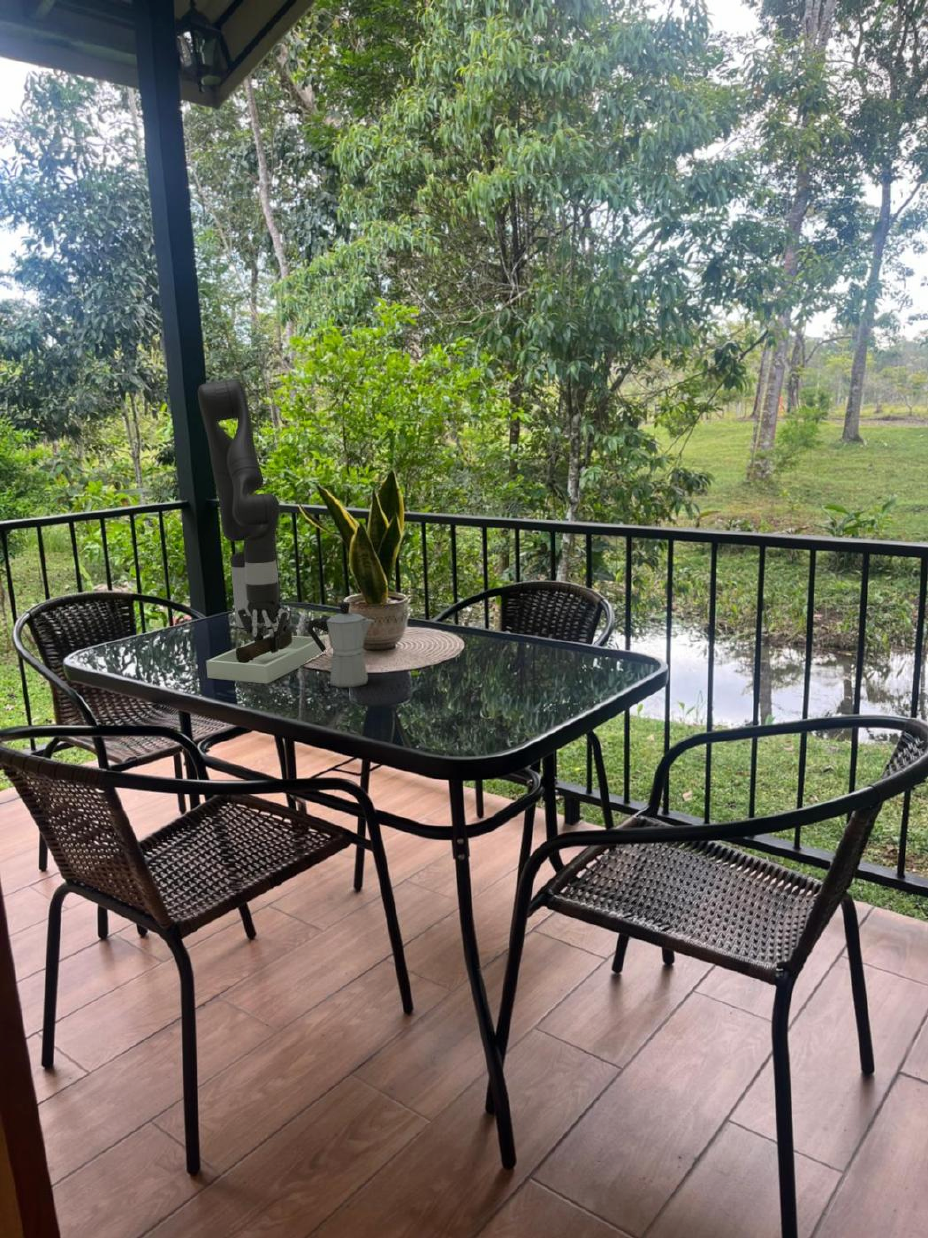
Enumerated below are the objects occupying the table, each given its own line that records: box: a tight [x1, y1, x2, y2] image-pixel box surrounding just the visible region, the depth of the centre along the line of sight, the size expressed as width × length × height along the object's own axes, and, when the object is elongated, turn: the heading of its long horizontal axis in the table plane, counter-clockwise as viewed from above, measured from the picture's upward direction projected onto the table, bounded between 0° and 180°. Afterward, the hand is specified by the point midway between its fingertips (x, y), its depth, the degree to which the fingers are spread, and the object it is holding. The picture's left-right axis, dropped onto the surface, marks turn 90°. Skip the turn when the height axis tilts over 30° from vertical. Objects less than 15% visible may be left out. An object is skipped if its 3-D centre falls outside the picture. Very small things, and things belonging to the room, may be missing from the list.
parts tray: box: [205, 634, 327, 684], centre depth 221 cm, size 26×16×4 cm, turn 159°
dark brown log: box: [235, 627, 293, 663], centre depth 220 cm, size 19×4×5 cm, turn 152°
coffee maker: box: [306, 601, 375, 688], centre depth 204 cm, size 15×9×18 cm, turn 89°
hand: (267, 651), depth 220 cm, fingers closed on dark brown log, 3 cm apart
